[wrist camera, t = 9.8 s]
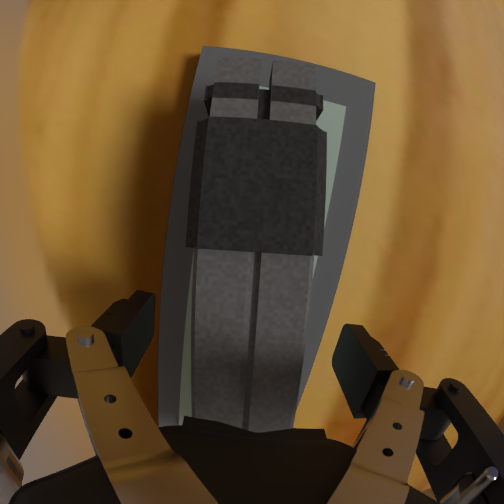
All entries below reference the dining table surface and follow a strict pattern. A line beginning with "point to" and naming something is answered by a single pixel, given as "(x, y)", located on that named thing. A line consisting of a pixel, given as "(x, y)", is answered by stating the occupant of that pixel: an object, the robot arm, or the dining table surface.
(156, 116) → the dining table surface
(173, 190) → the charging mat
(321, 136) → the gun
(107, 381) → the robot arm
